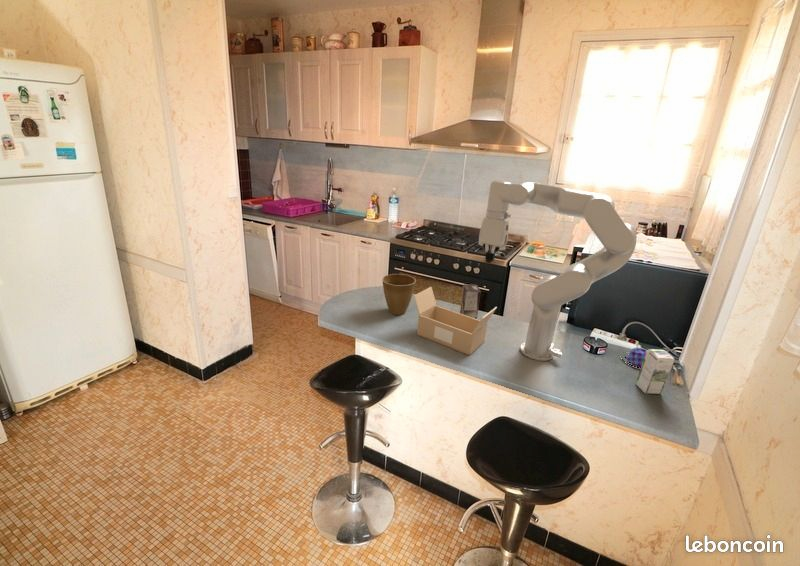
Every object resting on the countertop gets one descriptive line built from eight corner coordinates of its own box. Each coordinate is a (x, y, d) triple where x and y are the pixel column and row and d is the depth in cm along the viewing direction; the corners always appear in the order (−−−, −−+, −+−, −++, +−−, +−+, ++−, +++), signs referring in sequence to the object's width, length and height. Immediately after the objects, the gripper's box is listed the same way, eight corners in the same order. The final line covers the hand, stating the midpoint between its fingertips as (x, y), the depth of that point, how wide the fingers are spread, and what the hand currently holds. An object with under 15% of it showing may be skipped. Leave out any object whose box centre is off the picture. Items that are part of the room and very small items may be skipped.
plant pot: (414, 306, 185) (417, 275, 179) (411, 320, 171) (413, 287, 165) (384, 303, 187) (385, 271, 181) (377, 316, 173) (379, 283, 167)
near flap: (481, 317, 139) (482, 318, 139) (496, 306, 149) (497, 307, 149) (471, 333, 144) (472, 334, 144) (486, 321, 154) (487, 321, 153)
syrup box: (650, 384, 137) (663, 348, 131) (661, 395, 131) (675, 358, 126) (634, 383, 136) (647, 348, 131) (645, 394, 131) (658, 357, 125)
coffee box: (476, 326, 170) (481, 292, 164) (461, 325, 170) (466, 291, 164) (473, 316, 178) (477, 284, 173) (459, 315, 178) (463, 283, 173)
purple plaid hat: (641, 354, 156) (645, 342, 154) (662, 371, 145) (667, 359, 143) (613, 354, 155) (617, 342, 153) (633, 371, 144) (637, 359, 142)
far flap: (431, 286, 165) (430, 286, 165) (414, 295, 155) (413, 295, 155) (436, 304, 166) (435, 304, 166) (419, 314, 156) (418, 314, 156)
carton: (484, 342, 157) (487, 322, 154) (469, 356, 147) (472, 335, 143) (433, 323, 170) (435, 305, 166) (416, 334, 159) (418, 315, 156)
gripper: (519, 217, 144) (511, 264, 150) (482, 210, 151) (475, 255, 158) (512, 220, 138) (503, 268, 145) (473, 213, 146) (467, 259, 152)
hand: (489, 261), depth 151 cm, fingers closed
